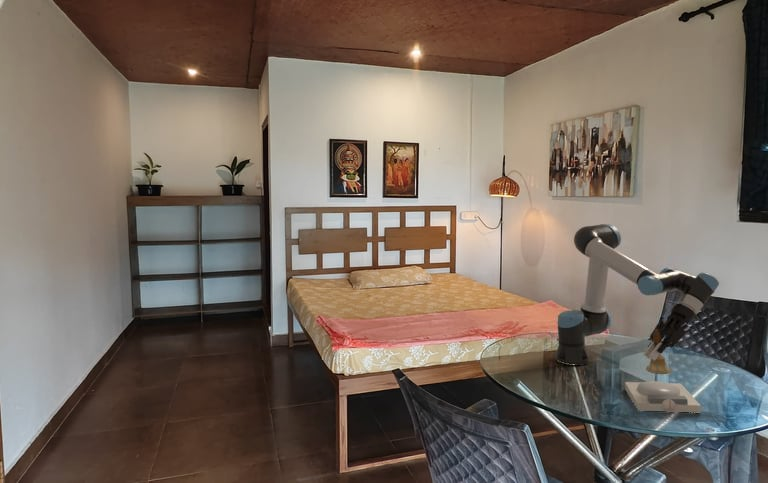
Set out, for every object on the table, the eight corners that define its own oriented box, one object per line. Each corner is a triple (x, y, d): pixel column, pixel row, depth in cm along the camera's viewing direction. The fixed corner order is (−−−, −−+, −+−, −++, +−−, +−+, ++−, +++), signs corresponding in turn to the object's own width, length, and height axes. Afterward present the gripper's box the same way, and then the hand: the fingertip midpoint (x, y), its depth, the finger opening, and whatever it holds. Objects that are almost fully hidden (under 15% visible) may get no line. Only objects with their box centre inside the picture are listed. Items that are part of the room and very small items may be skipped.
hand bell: (665, 376, 176) (663, 333, 174) (641, 370, 182) (640, 329, 181) (674, 369, 181) (673, 328, 179) (651, 364, 187) (650, 324, 186)
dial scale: (638, 411, 173) (637, 398, 172) (625, 389, 193) (624, 377, 192) (701, 414, 168) (700, 400, 167) (681, 390, 187) (680, 378, 187)
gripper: (709, 319, 175) (670, 369, 173) (676, 310, 190) (641, 357, 188) (696, 306, 173) (657, 357, 172) (664, 299, 188) (628, 345, 187)
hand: (648, 357), depth 180 cm, fingers closed on hand bell, 2 cm apart
